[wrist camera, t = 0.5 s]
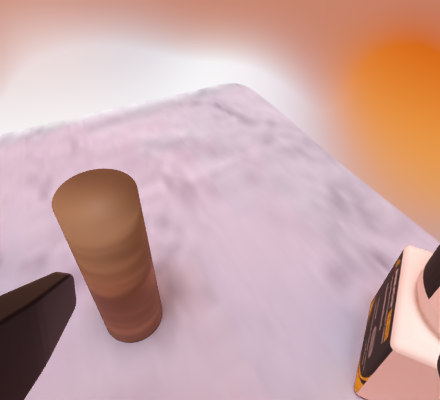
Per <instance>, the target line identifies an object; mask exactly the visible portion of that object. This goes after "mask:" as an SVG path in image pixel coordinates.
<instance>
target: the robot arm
mask: <svg viewBox="0 0 440 400" xmlns="http://www.w3.org/2000/svg"><path fill="white" fill-rule="evenodd" d="M75 306H76V294H75V285H74V278H73V276H72V275H71V274H68V273H62V272H54V273H52V274H50V275H47V276H45V277H43V278H40V279H38V280H36V281H33V282H31V283H29V284H26V285H24V286H22V287H20V288H17V289H15V290H13V291H10V292H8V293H6V294H3V295H1V296H0V400H24V399H25V397H26V396H27V394H28V393H29V391H30V390H31V388H32V386H33V385H34V383H35V382H36V380H37V379H38V377H39V375H40V374H41V372H42V371H43V369H44V367H45V366H46V364H47V362H48V360H49V358H50V357H51V355H52V353H53V351H54V349H55V347H56V345H57V343H58V341H59V339H60V337H61V335H62V333H63V331H64V329H65V327H66V325H67V323H68V321H69V319H70V317H71V315H72V313H73V311H74V309H75ZM437 370H438V374H439V378H440V355H439V357H438V360H437Z"/></svg>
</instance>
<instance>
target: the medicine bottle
mask: <svg viewBox="0 0 440 400" xmlns="http://www.w3.org/2000/svg"><path fill="white" fill-rule="evenodd" d="M439 355H440V245H439V246H438V248H437V249H436V251H435V252H434V253H432V252H429V251H426V250H423V249H420V248H417V247H414V246H410V245H409V246H406V247H405V248H404V250H403V251H402V253H401V255H400V256H399V258H398V260H397V261H396V263H395V265H394V266H393V268H392V270H391V271H390V273H389V274H388V276H387V278H386V279H385V281H384V283H383V284H382V286H381V288H380V289H379V291H378V293H377V294H376V296H375V298H374V299H373V301H372V302H371V307H370V312H369V317H368V322H367V327H366V332H365V337H364V342H363V347H362V352H361V357H360V362H359V367H358V372H357V377H356V382H355V392H356V394H357V395H359V396H361V397H363V398H365V399H367V400H440V378H439V374H438V370H437V360H438V357H439Z"/></svg>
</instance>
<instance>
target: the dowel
mask: <svg viewBox="0 0 440 400" xmlns="http://www.w3.org/2000/svg"><path fill="white" fill-rule="evenodd" d="M52 209H53V212H54V214H55V216H56V218H57V220H58V223H59V225H60V227H61V229H62V231H63V234H64V236H65V238H66V240H67V242H68V244H69V247H70V249H71V251H72V253H73V255H74V258H75V260H76V262H77V264H78V266H79V268H80V271H81V273H82V275H83V277H84V279H85V282H86V284H87V286H88V288H89V290H90V292H91V295H92V297H93V299H94V301H95V303H96V306H97V308H98V310H99V312H100V314H101V316H102V319H103V321H104V323H105V325H106V327H107V330H108V332H109V333H110V334H111V335H112V336H113V337H114V338H115V339H117V340H119V341H122V342H127V343H132V342H138V341H141V340H143V339H145V338H147V337H149V336H150V335H151V334H152V333H153V332H154V331H155V330H156V329H157V327H158V326H159V324H160V322H161V319H162V306H161V301H160V296H159V292H158V287H157V282H156V277H155V272H154V267H153V262H152V257H151V252H150V248H149V243H148V238H147V233H146V228H145V223H144V218H143V213H142V208H141V204H140V199H139V194H138V189H137V185H136V183H135V181H134V180H133V179H132V178H131V177H130V176H129V175H127V174H126V173H124V172H121V171H118V170H113V169H95V170H89V171H86V172H83V173H80V174H78V175H75V176H73V177H72V178H70V179H68V180H67V181H66V182H64V183H63V184H62V185H61V186H60V187H59V188H58V190H57V191H56V192H55V194H54V197H53V200H52Z"/></svg>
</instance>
